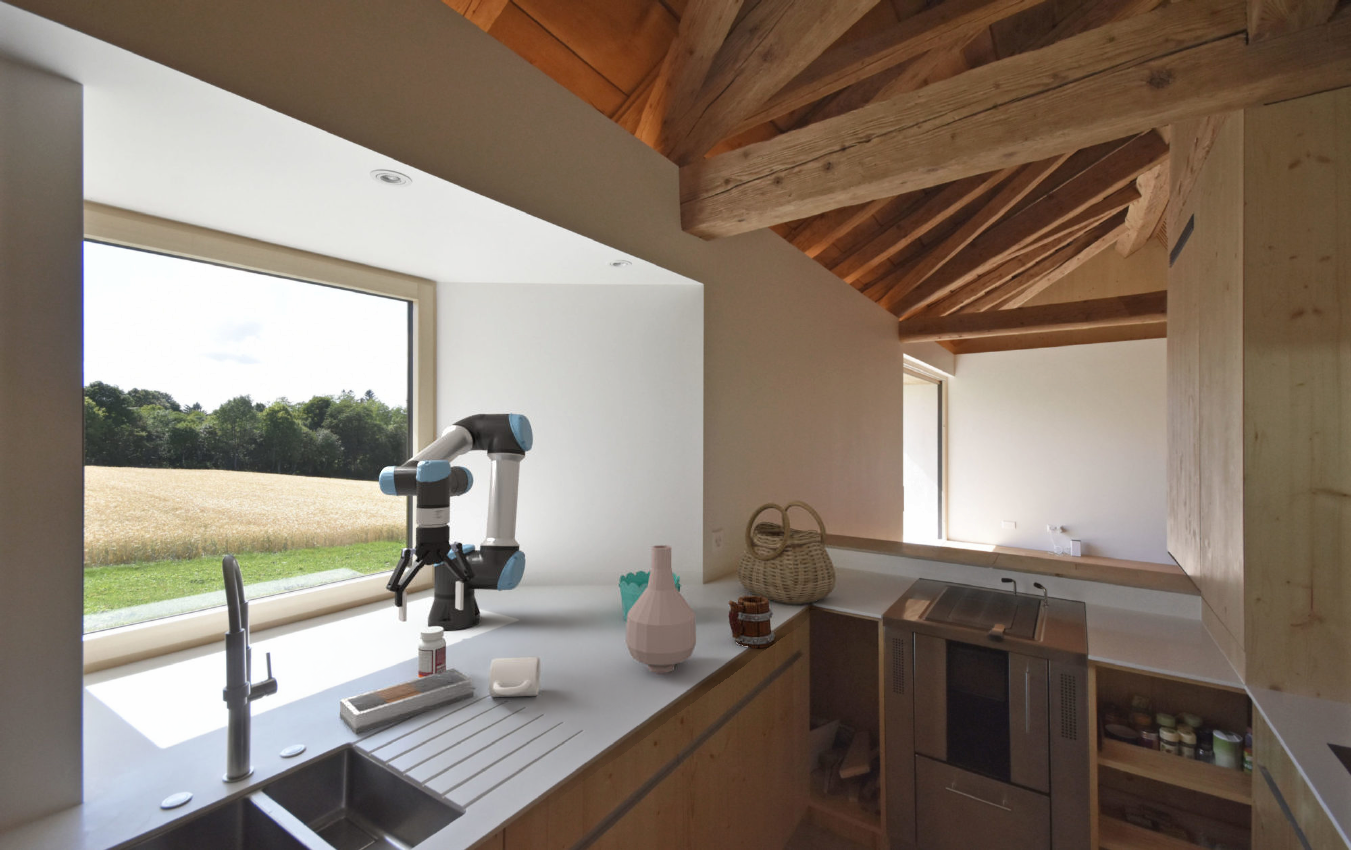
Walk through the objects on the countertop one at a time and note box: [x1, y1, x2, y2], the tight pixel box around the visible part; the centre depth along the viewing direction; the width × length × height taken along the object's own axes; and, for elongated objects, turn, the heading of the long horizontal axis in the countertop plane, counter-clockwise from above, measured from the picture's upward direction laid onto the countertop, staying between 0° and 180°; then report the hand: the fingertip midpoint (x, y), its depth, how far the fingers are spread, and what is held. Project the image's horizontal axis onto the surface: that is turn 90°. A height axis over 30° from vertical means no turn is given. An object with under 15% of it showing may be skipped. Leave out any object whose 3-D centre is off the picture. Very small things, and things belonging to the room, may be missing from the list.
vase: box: [625, 544, 697, 674], centre depth 152 cm, size 18×18×30 cm
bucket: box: [618, 570, 682, 622], centre depth 193 cm, size 19×18×13 cm
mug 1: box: [488, 656, 541, 698], centre depth 134 cm, size 12×10×8 cm
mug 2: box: [728, 595, 776, 649], centre depth 170 cm, size 12×14×15 cm
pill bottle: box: [417, 626, 447, 678], centre depth 146 cm, size 6×6×11 cm
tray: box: [339, 667, 474, 735], centre depth 130 cm, size 24×10×4 cm, turn 134°
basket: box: [737, 500, 837, 605], centre depth 219 cm, size 35×28×34 cm
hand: (431, 614), depth 146 cm, fingers open, 13 cm apart
